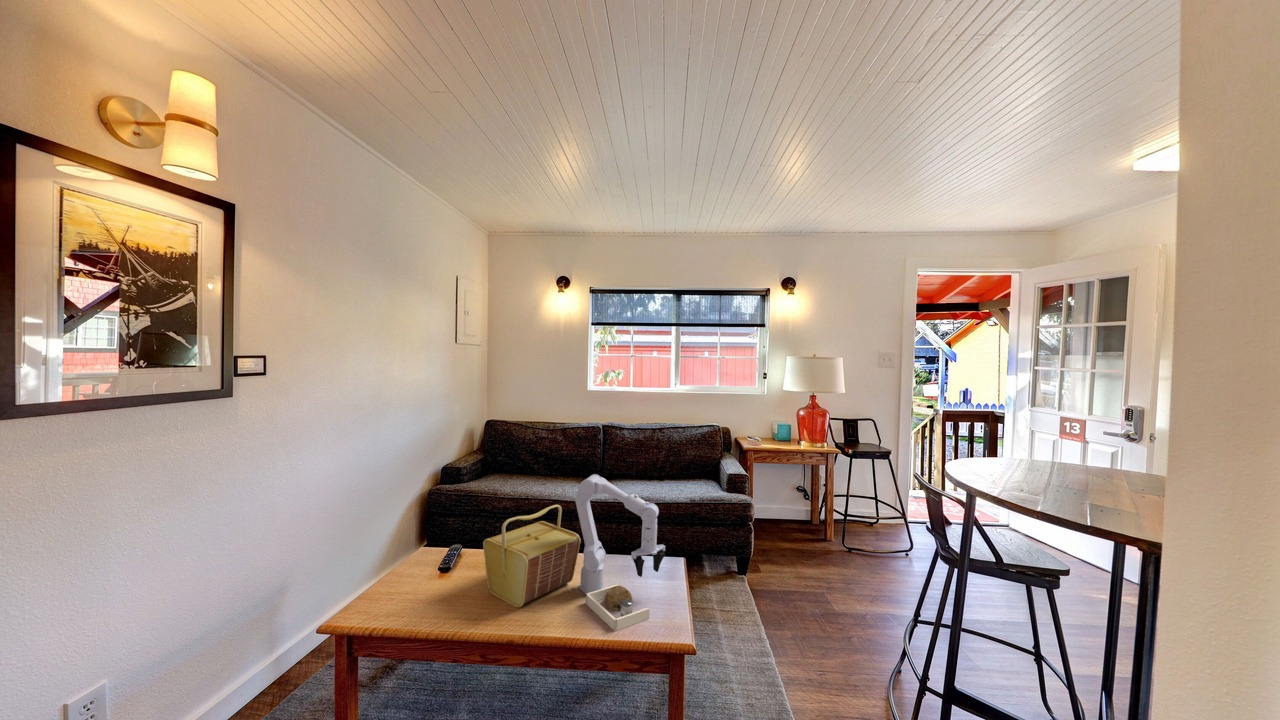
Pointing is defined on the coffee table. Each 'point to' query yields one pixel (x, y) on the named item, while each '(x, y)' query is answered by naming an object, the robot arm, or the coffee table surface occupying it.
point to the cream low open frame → (607, 617)
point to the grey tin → (626, 607)
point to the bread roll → (617, 597)
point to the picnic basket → (530, 559)
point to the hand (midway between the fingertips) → (647, 573)
